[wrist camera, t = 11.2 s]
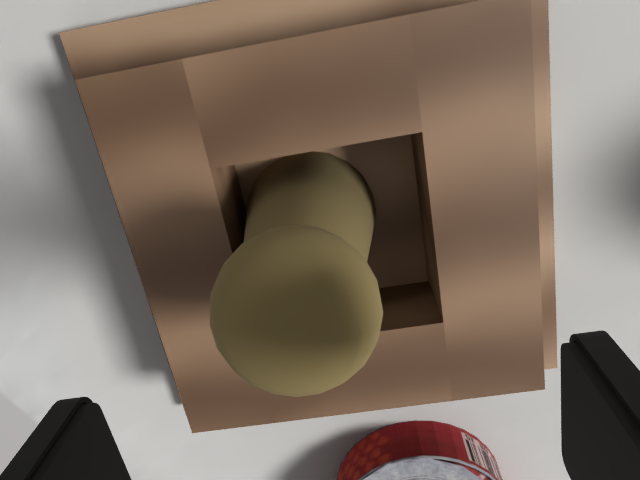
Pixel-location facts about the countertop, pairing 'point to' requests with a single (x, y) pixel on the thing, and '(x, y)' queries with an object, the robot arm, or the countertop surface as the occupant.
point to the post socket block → (364, 155)
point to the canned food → (419, 454)
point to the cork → (300, 279)
